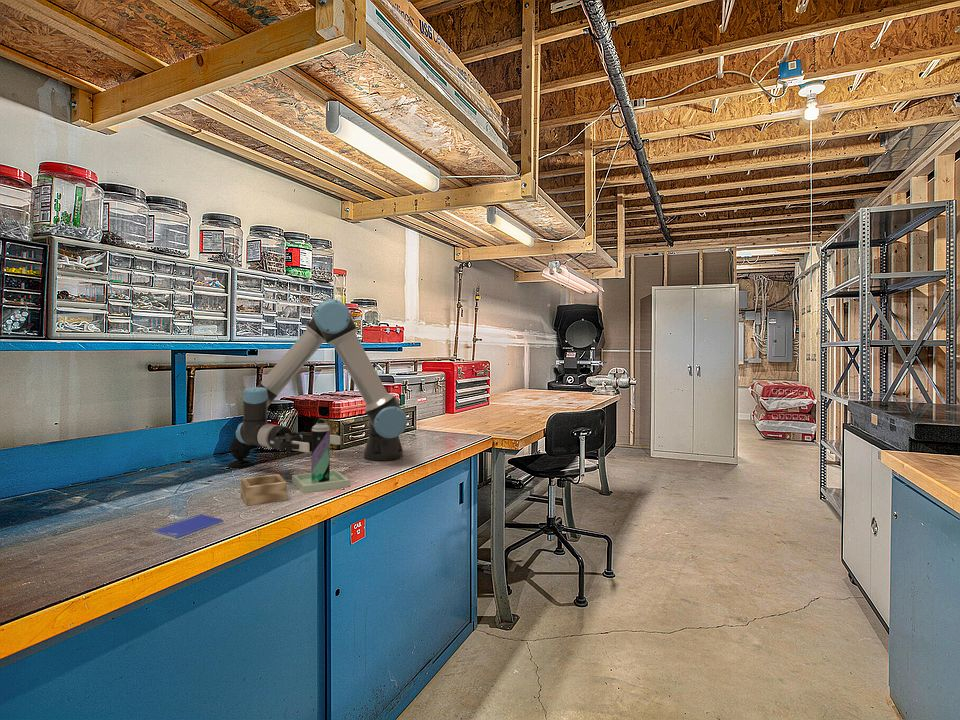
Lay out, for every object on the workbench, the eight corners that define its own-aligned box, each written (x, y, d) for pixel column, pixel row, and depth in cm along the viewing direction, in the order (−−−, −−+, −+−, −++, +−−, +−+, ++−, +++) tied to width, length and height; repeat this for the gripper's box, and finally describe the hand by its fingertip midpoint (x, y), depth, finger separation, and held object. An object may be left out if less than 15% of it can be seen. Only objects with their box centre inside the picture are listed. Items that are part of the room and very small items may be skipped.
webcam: (256, 464, 182) (257, 437, 181) (240, 469, 175) (240, 440, 174) (239, 462, 184) (240, 435, 184) (223, 467, 177) (223, 438, 177)
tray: (335, 476, 169) (335, 469, 169) (349, 486, 157) (349, 479, 157) (292, 481, 161) (292, 475, 161) (303, 493, 150) (303, 486, 150)
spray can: (308, 481, 159) (308, 418, 159) (324, 478, 163) (324, 417, 163) (316, 485, 155) (316, 420, 155) (332, 482, 159) (333, 419, 159)
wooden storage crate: (278, 490, 152) (278, 474, 151) (286, 500, 143) (286, 482, 143) (240, 495, 146) (240, 478, 146) (246, 505, 137) (246, 487, 137)
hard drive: (176, 536, 113) (223, 519, 124) (151, 530, 116) (200, 513, 127) (176, 543, 113) (223, 525, 124) (151, 537, 116) (200, 520, 127)
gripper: (303, 441, 179) (351, 448, 169) (243, 455, 156) (293, 464, 147) (304, 420, 179) (351, 426, 169) (243, 431, 156) (294, 438, 147)
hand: (324, 443), depth 158 cm, fingers open, 13 cm apart
